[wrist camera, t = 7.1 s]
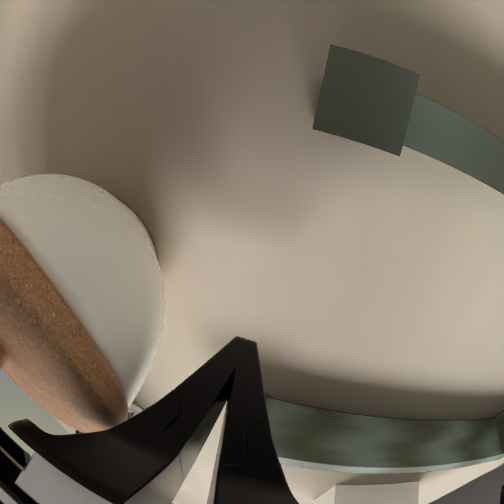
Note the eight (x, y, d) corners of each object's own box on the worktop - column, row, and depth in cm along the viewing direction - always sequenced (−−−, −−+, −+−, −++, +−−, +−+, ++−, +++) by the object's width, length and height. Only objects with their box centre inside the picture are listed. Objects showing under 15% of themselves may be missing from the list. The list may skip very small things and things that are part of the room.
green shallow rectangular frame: (613, 259, 5) (646, 297, 1) (491, 426, 15) (500, 468, 10) (324, 78, 8) (330, 44, 4) (239, 400, 17) (218, 464, 13)
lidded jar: (39, 142, 11) (-102, 208, 3) (214, 160, 10) (-24, 326, 2) (63, 296, 17) (-20, 382, 9) (198, 352, 16) (127, 495, 7)
